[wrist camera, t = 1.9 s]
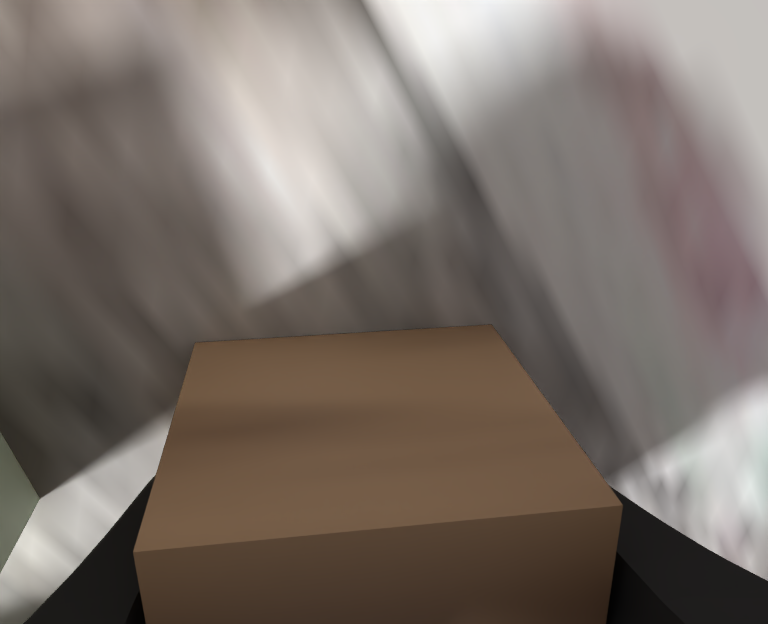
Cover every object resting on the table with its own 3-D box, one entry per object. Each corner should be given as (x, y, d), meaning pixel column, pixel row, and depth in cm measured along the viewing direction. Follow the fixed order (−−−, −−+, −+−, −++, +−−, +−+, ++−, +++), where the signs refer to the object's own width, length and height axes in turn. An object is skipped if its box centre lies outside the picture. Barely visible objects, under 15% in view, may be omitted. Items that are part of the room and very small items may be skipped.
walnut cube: (479, 556, 14) (578, 817, 9) (223, 581, 13) (191, 876, 8) (491, 324, 12) (622, 505, 7) (195, 342, 11) (132, 552, 7)
